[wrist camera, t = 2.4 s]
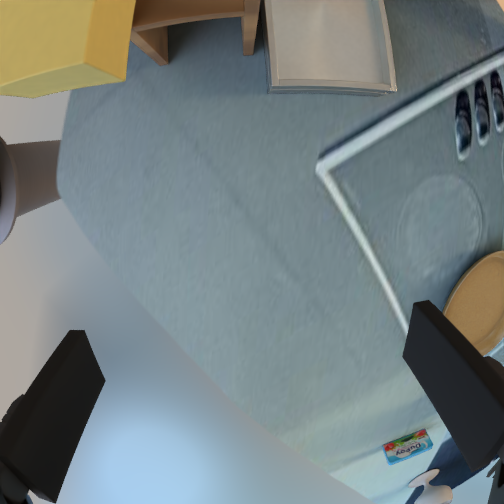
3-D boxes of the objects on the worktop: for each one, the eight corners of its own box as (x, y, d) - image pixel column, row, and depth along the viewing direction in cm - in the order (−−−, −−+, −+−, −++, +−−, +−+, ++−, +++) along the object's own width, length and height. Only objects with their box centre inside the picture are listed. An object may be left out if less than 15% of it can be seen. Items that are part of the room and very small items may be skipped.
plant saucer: (521, 231, 43) (532, 236, 39) (508, 330, 51) (516, 337, 48) (432, 265, 44) (443, 273, 41) (426, 371, 52) (433, 381, 49)
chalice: (444, 461, 70) (460, 492, 56) (436, 477, 74) (449, 506, 60) (408, 477, 70) (421, 511, 56) (403, 492, 75) (414, 522, 61)
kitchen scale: (378, 96, 35) (396, 91, 30) (267, 94, 35) (271, 86, 30) (353, -50, 27) (364, -67, 21) (253, -58, 27) (254, -78, 21)
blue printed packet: (381, 447, 61) (388, 465, 55) (382, 444, 60) (389, 463, 55) (423, 431, 60) (432, 448, 54) (424, 428, 60) (433, 445, 54)
